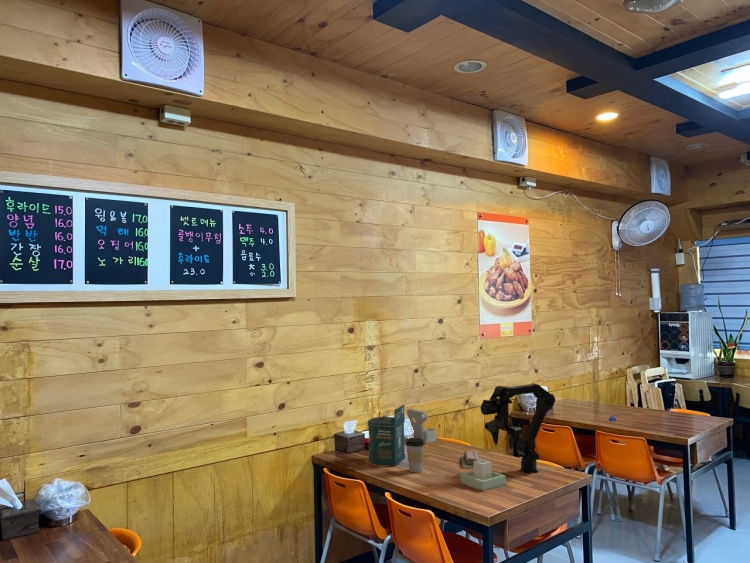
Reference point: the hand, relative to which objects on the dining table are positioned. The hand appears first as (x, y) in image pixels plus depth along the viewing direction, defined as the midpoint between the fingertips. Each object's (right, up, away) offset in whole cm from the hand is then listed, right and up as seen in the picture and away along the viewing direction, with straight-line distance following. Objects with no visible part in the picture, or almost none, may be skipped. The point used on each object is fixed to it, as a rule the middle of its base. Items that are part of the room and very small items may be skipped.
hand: (503, 446), depth 266 cm
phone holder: (-33, -16, +70) cm, 79 cm away
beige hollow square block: (-12, -12, -13) cm, 22 cm away
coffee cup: (-41, -14, +7) cm, 44 cm away
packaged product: (-12, -15, +19) cm, 27 cm away
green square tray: (-12, -13, -13) cm, 22 cm away
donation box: (-55, -15, +25) cm, 62 cm away
